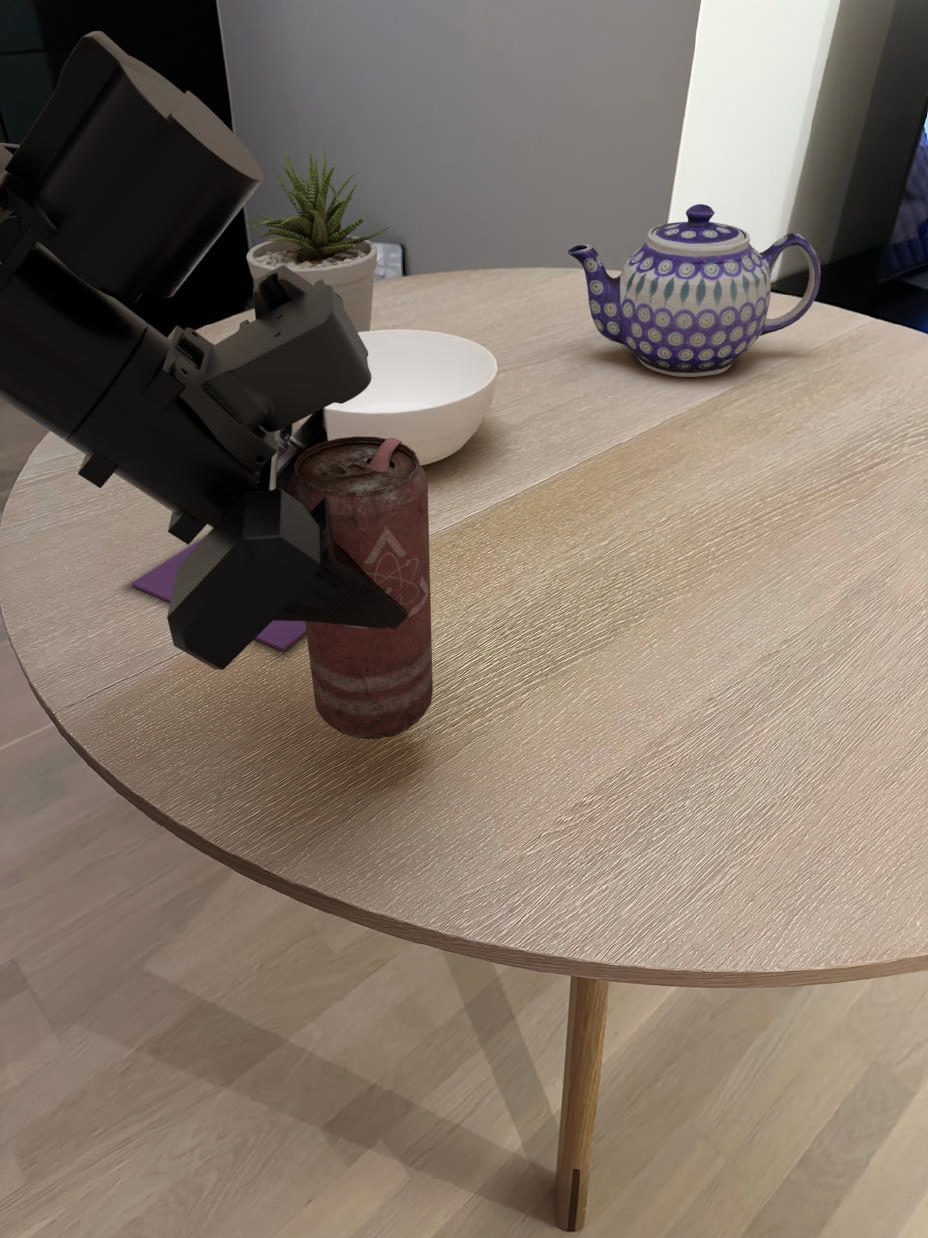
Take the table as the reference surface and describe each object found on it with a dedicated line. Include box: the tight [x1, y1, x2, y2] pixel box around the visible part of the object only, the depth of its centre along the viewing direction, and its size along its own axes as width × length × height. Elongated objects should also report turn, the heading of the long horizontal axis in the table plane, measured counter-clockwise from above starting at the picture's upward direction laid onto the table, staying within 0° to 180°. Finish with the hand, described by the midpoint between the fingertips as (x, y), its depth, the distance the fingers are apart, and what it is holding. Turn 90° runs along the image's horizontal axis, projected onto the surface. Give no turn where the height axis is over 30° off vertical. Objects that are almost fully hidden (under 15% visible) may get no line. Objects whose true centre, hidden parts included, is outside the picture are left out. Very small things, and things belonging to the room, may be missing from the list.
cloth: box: [131, 536, 307, 653], centre depth 66 cm, size 14×14×1 cm
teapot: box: [567, 203, 821, 378], centre depth 92 cm, size 25×15×15 cm, turn 87°
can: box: [288, 436, 434, 740], centre depth 45 cm, size 6×6×14 cm
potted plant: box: [245, 147, 389, 333], centre depth 91 cm, size 13×14×20 cm
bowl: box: [298, 328, 499, 466], centre depth 79 cm, size 18×18×7 cm
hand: (397, 588), depth 45 cm, fingers closed on can, 5 cm apart
